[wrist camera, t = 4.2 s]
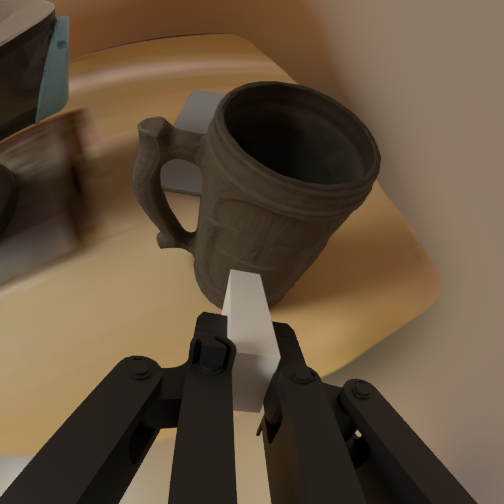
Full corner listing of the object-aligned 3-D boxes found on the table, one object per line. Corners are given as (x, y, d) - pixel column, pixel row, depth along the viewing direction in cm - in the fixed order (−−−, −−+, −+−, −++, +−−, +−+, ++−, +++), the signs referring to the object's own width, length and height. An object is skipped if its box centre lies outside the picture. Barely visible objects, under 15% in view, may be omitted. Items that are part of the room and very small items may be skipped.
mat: (315, 219, 36) (317, 217, 35) (147, 187, 33) (147, 184, 32) (308, 116, 47) (309, 114, 46) (192, 92, 44) (193, 89, 43)
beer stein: (287, 226, 34) (349, 84, 16) (303, 311, 30) (417, 202, 12) (160, 230, 32) (127, 76, 14) (159, 320, 27) (76, 206, 9)
